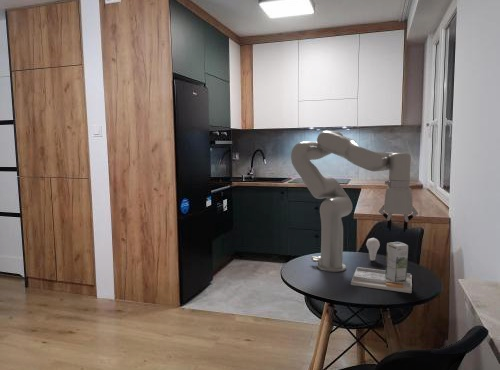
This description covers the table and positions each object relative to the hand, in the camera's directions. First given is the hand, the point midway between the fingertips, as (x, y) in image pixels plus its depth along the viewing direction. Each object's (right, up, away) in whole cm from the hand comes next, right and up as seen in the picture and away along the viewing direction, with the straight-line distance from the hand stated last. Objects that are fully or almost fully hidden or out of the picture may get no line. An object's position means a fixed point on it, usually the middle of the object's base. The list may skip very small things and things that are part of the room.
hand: (397, 230), depth 147 cm
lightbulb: (0, -18, +31) cm, 36 cm away
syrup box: (0, -20, +2) cm, 20 cm away
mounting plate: (-5, -21, +4) cm, 22 cm away
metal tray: (-5, -20, +4) cm, 21 cm away
